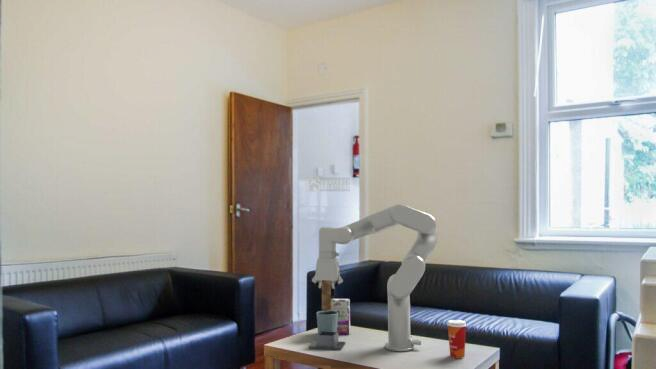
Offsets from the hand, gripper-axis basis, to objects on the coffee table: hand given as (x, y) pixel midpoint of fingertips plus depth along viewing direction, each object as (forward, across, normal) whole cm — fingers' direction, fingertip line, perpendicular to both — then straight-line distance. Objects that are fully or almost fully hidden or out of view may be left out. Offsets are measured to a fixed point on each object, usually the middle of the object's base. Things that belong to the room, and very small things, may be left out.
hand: (327, 296), depth 219 cm
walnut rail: (+5, 0, 0) cm, 5 cm away
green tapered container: (+22, +3, -13) cm, 26 cm away
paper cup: (+21, -55, +4) cm, 59 cm away
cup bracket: (+21, 0, 0) cm, 21 cm away
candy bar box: (+22, 0, -23) cm, 32 cm away
